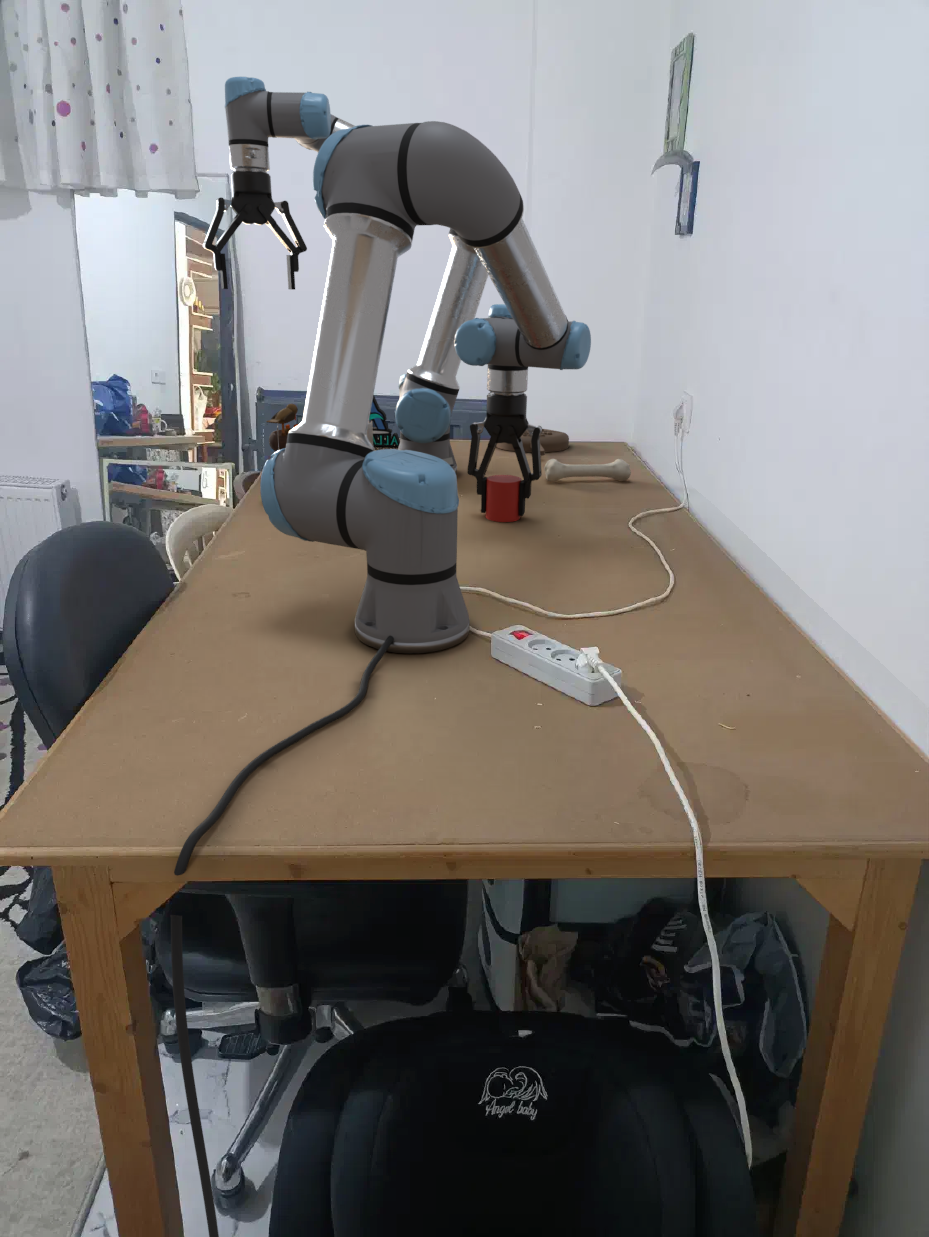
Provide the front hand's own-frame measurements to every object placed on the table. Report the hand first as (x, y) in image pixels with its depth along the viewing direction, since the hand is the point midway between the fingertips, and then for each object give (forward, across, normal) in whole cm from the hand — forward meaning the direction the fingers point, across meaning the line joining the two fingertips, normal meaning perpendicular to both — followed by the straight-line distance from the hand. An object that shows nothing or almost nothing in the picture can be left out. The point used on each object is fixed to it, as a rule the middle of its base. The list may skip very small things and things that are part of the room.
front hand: (503, 512), depth 166 cm
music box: (+1, +44, 0) cm, 44 cm away
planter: (+1, +48, -41) cm, 63 cm away
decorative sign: (+1, +51, -61) cm, 79 cm away
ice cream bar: (+1, +6, -68) cm, 69 cm away
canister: (+1, 0, 0) cm, 1 cm away
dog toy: (+1, -12, -37) cm, 39 cm away
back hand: (-40, +54, -10) cm, 68 cm away
